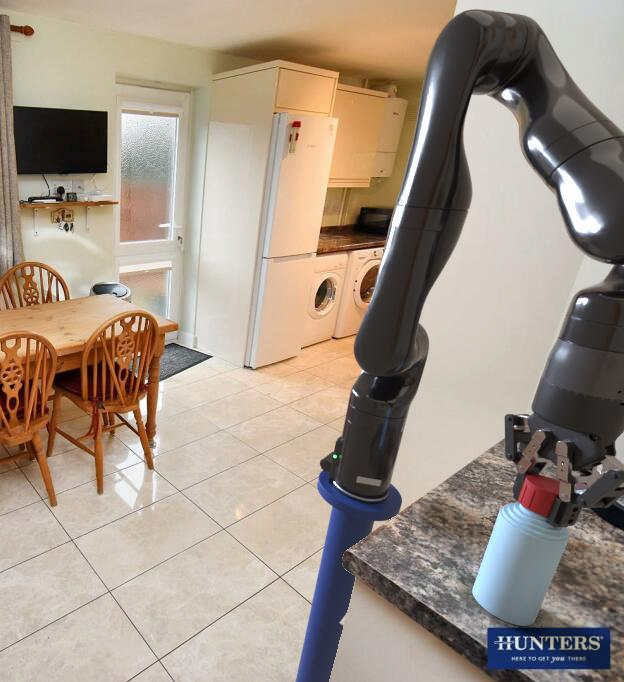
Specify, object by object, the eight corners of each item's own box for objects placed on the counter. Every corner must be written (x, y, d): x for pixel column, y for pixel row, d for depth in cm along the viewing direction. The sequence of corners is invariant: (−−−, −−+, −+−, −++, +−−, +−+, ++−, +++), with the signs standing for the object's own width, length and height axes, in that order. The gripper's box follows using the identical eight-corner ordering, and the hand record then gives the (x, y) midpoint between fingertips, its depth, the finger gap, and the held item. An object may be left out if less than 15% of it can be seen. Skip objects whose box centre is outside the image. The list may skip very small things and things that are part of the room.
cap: (567, 511, 53) (576, 488, 52) (553, 522, 51) (563, 498, 50) (526, 493, 56) (534, 470, 55) (512, 502, 54) (520, 479, 53)
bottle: (500, 626, 55) (546, 506, 50) (460, 584, 61) (497, 472, 56) (549, 625, 56) (601, 505, 50) (504, 583, 62) (546, 472, 56)
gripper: (499, 360, 55) (463, 477, 61) (630, 412, 42) (569, 558, 47) (557, 360, 56) (516, 477, 61) (705, 412, 42) (636, 557, 47)
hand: (539, 511), depth 54 cm, fingers closed on cap, 4 cm apart
